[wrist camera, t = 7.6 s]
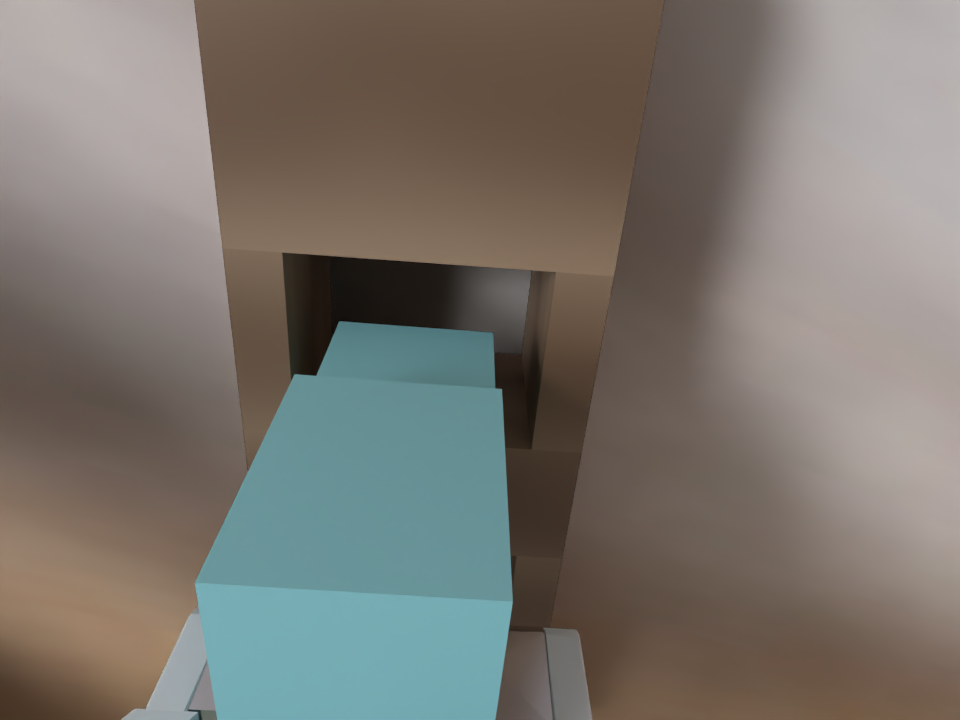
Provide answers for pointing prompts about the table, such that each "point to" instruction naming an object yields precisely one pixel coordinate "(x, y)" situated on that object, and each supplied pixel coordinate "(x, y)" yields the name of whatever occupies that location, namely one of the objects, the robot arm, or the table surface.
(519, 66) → the rail
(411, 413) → the clip
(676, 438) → the table surface
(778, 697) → the table surface
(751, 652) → the table surface
